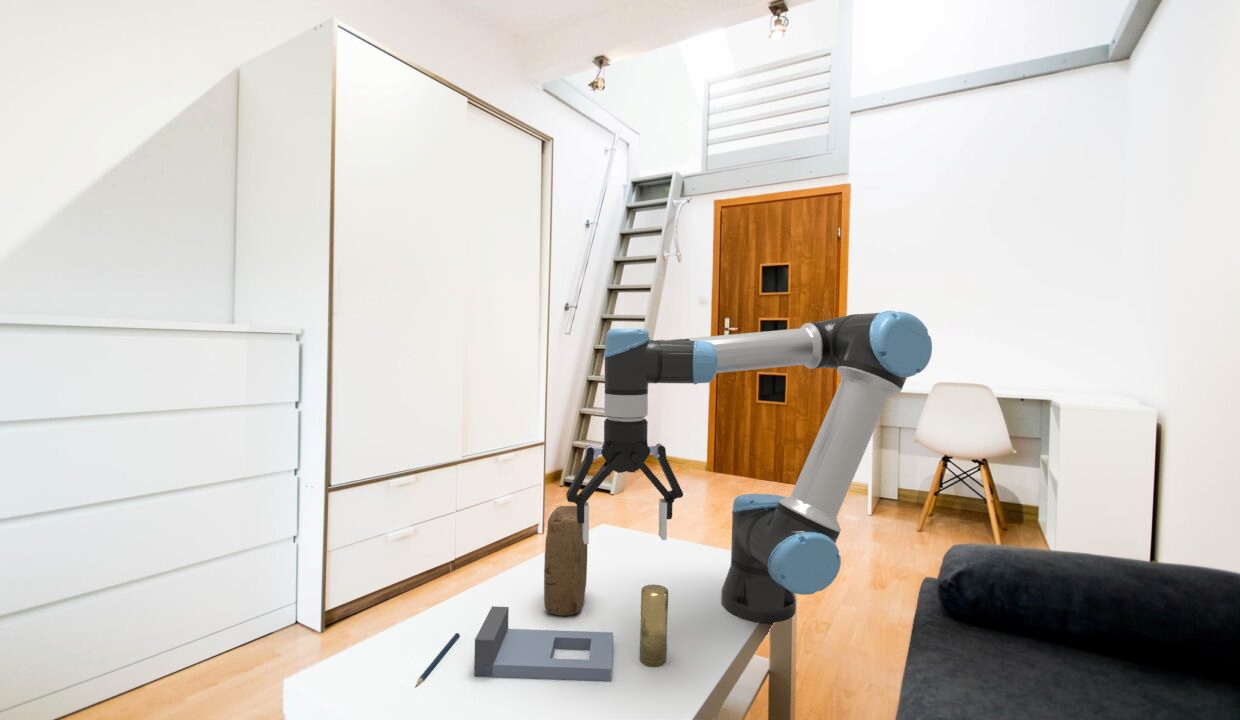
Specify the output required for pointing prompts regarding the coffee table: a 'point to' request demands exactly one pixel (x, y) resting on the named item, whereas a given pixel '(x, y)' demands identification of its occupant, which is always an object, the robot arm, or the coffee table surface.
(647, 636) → the brass cylinder rod
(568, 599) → the block
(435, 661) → the pencil
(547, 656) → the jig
